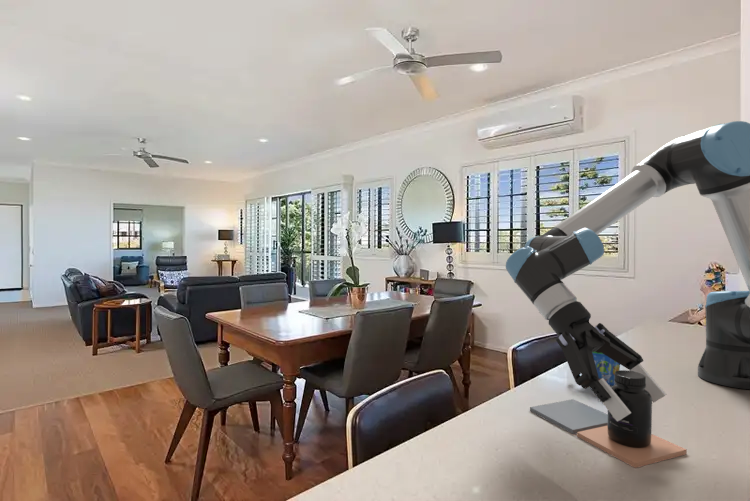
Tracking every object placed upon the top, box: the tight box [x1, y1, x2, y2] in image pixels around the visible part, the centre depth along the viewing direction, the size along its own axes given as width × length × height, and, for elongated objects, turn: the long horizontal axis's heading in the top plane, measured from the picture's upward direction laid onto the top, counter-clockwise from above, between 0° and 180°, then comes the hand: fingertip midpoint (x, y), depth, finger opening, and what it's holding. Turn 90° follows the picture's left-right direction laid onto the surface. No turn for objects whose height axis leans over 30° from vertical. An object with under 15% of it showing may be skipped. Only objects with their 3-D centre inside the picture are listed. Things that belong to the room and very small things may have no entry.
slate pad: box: [529, 398, 608, 435], centre depth 89 cm, size 12×12×1 cm
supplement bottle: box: [607, 369, 653, 448], centre depth 77 cm, size 7×7×12 cm
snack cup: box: [592, 352, 633, 387], centre depth 110 cm, size 16×10×10 cm
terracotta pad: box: [576, 426, 688, 469], centre depth 77 cm, size 12×12×1 cm
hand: (643, 407), depth 75 cm, fingers open, 13 cm apart
